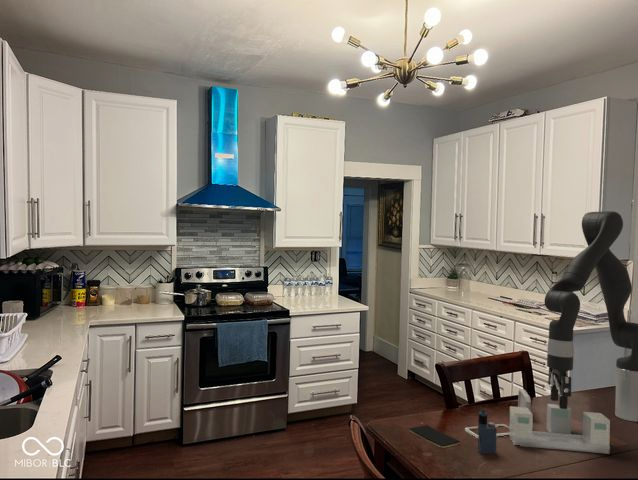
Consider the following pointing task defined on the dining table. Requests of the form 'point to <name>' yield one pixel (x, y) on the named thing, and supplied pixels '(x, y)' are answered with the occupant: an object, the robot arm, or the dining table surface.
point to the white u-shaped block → (590, 441)
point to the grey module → (558, 419)
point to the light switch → (524, 399)
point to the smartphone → (434, 436)
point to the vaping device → (486, 434)
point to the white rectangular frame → (477, 427)
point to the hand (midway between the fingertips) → (558, 404)
